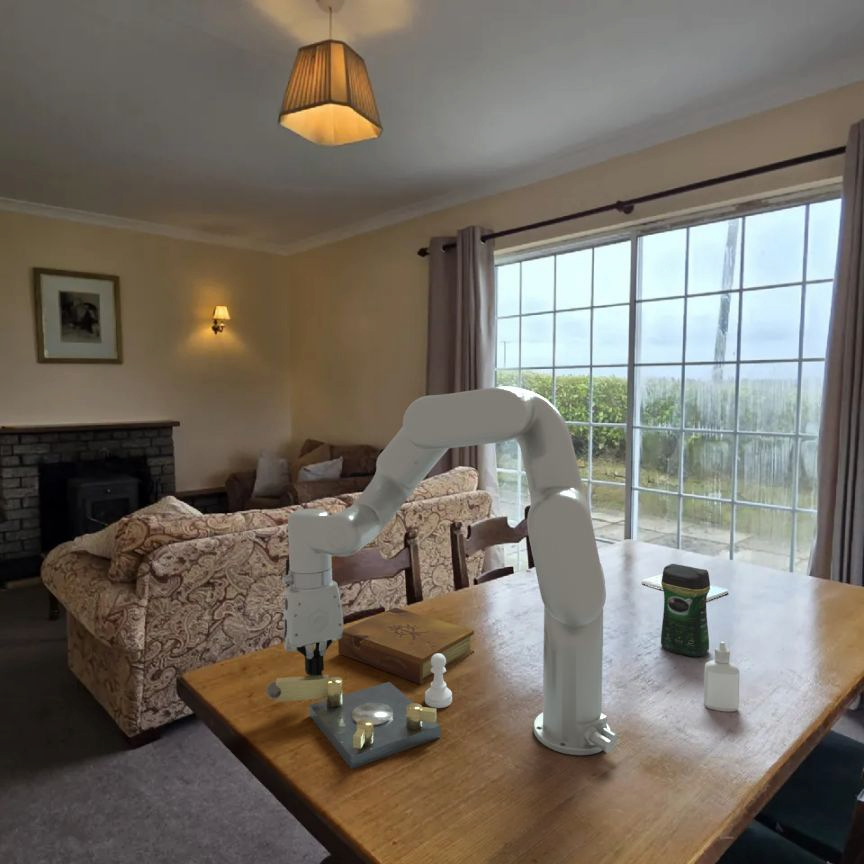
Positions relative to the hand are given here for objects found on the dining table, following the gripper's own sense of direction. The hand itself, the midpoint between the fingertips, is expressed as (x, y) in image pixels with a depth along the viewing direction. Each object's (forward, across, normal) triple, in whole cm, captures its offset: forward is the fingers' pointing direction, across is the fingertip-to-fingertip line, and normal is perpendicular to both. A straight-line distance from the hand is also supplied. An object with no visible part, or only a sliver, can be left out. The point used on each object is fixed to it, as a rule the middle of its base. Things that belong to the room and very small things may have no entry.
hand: (314, 675), depth 112 cm
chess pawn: (+6, +19, -12) cm, 23 cm away
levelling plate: (+5, +5, -13) cm, 15 cm away
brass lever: (+3, -3, -3) cm, 6 cm away
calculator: (+7, +113, +4) cm, 114 cm away
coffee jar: (+7, +77, -22) cm, 81 cm away
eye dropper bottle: (+7, +61, -41) cm, 74 cm away
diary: (+6, +24, +9) cm, 27 cm away
